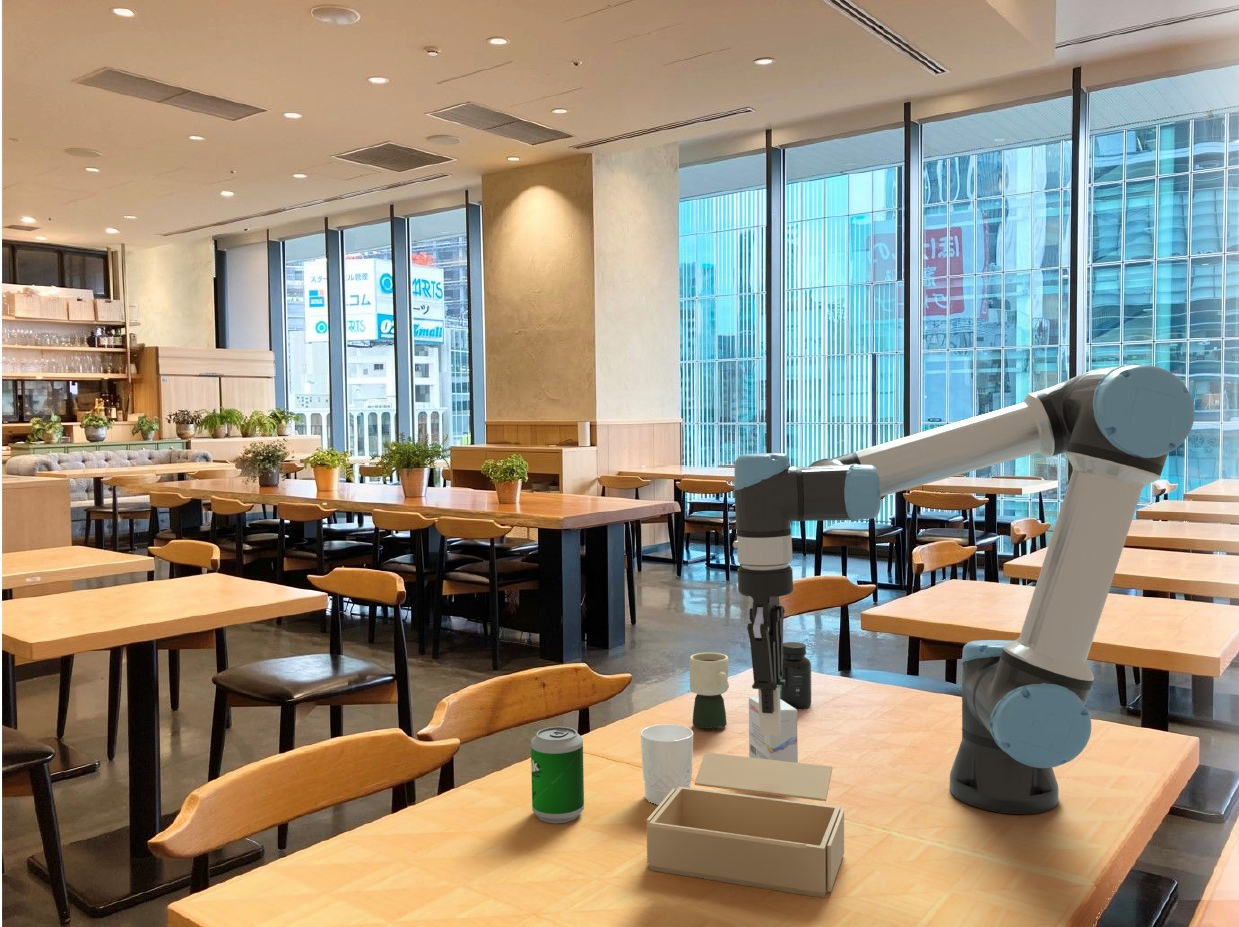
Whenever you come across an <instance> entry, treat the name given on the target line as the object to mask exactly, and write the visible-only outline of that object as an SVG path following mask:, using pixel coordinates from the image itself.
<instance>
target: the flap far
mask: <svg viewBox="0 0 1239 927" xmlns="http://www.w3.org/2000/svg"><path fill="white" fill-rule="evenodd" d="M832 772H833V767H832V766H829V765H821V764H820V765H819V764H812V763H803V762H798V763H795V762H786V761H777V760H768V759H760V758H751V757H749V756H740V755H730V754H723V753H714V752H704V755H703V758H702V761H701V763H700V766H699V769H698V771H697V774H696V777H695V780H694V786H699V787H708V788H717V789H724V790H732V791H739V792H740V791H741V792H747V793H754V794H755V793H757V794H762V795H763V794H764V795H765V794H766V795H772V796H781V797H788V798H789V797H790V798H795V799H803V800H811V801H812V800H813V801H819V802H820V801H821V802H827V799H828V792H829V787H830V782H831V777H832Z"/></svg>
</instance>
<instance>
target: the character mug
mask: <svg viewBox="0 0 1239 927" xmlns="http://www.w3.org/2000/svg"><path fill="white" fill-rule="evenodd" d="M729 669H730V667H729V656H728V655H726V654H724V653H720V652H698V653H694V654H692V655H690V656H689V691H690V692H691V693H693V694H695V697H694V705H693V712H692V726H694V727H696V728H702V729H711V728H715V729H716V728H724V727H726V726H727V725H728V724H727V723H728V722H727V714H726V707H725V706H726V705H725V700H724V698H723V695H722V694H725V693H726V692H727V691H728V690H729V688H730V684H729V681H728V675H729V671H730V670H729Z"/></svg>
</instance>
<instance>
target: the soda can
mask: <svg viewBox="0 0 1239 927" xmlns="http://www.w3.org/2000/svg"><path fill="white" fill-rule="evenodd" d="M530 763H531V765H530V766H531V772H530V773H531V809H532V812H533V813H534V814H535V815H536V816H537V817H538V819H539V820H540V821H542V822H544V823H548V824H563V823H564V824H565V823H568V822H573V821H574V820H576V819H577V818H578V817H579V815H580V814H581V813H582V812H583V811H584V809H585V788H584V786H585V783H584V738H583V736H582V735H580V734H579V733H578V731H577V730H576V729H575V728H572V727H567V726H551V727H545V728H542V729H539V730H538V731H537V732H536V735H535V736H533V737H532V738H531V741H530Z"/></svg>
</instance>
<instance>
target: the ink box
mask: <svg viewBox="0 0 1239 927" xmlns="http://www.w3.org/2000/svg"><path fill="white" fill-rule="evenodd" d="M780 706H781V734H780V736H774V735H761V734H760V721H759V696H751V697H748V722H749V723H748V738H749V740H748V741H749V742H748V749H749V750H748V757H751V758H760V759H768V760H777V761H786V762H795V763H799V762H798V760H799V758H798V756H799V754H798V753H799V752H798V751H799V750H798V745H799V744H798V710H797V709H795V708H794V707H792V706H790V705H789V704H787V703H786V702H784V701H783V700H781V699H780Z"/></svg>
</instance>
